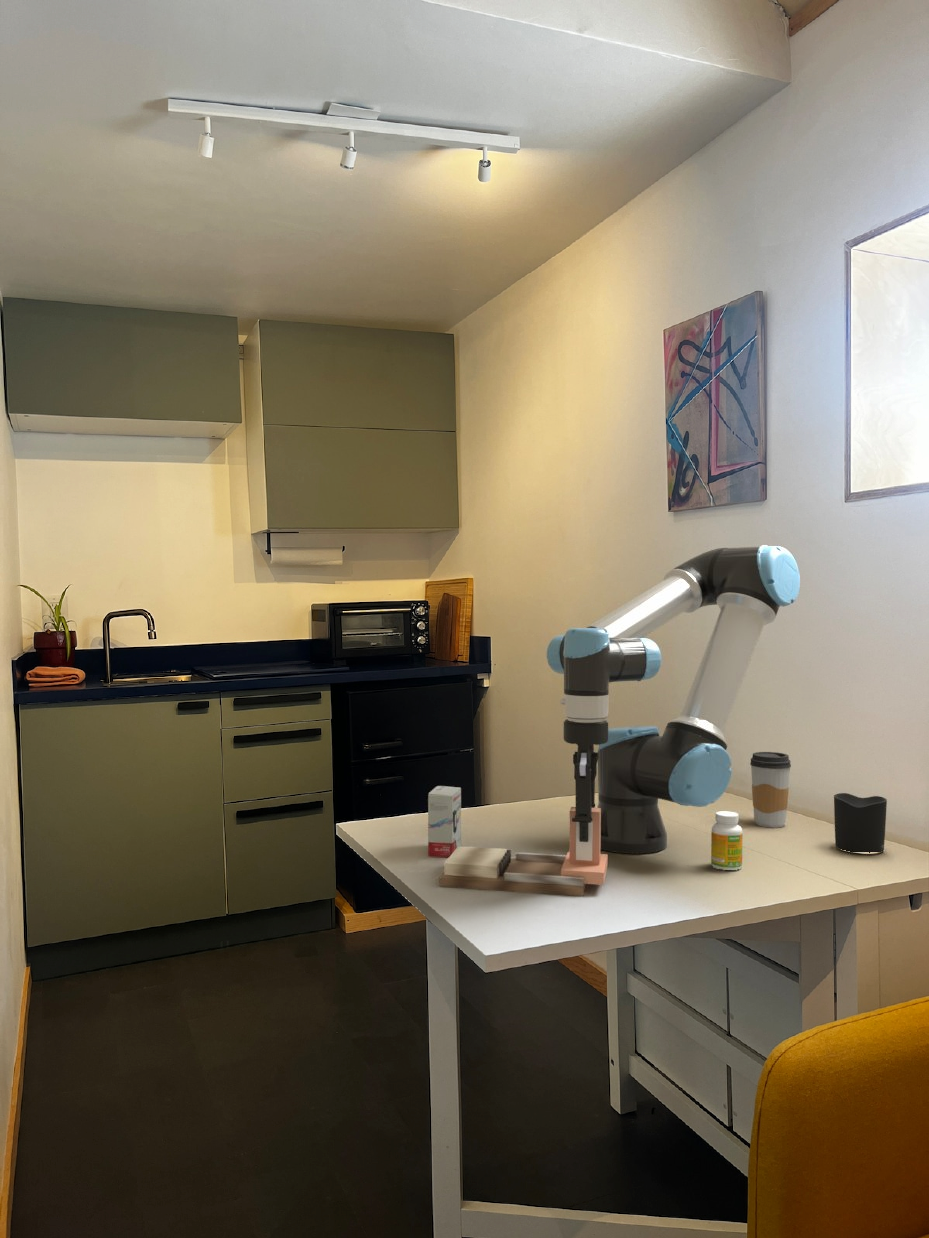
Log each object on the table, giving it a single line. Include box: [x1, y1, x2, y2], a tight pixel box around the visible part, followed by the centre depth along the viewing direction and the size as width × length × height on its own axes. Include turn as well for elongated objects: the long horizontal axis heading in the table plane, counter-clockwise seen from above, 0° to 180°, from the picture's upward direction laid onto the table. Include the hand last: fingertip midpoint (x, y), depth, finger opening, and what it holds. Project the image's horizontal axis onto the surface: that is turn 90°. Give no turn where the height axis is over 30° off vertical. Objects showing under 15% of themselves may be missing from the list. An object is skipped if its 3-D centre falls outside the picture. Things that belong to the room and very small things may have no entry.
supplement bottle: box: [710, 810, 743, 871], centre depth 168 cm, size 5×5×10 cm
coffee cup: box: [749, 751, 792, 829], centre depth 199 cm, size 8×8×15 cm
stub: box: [561, 806, 609, 886], centre depth 158 cm, size 7×11×11 cm, turn 168°
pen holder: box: [833, 792, 888, 853], centre depth 180 cm, size 9×9×10 cm
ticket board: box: [438, 845, 587, 897], centre depth 161 cm, size 24×14×4 cm, turn 78°
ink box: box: [427, 785, 462, 858], centre depth 178 cm, size 9×5×12 cm, turn 168°
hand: (585, 856), depth 158 cm, fingers closed on stub, 3 cm apart
